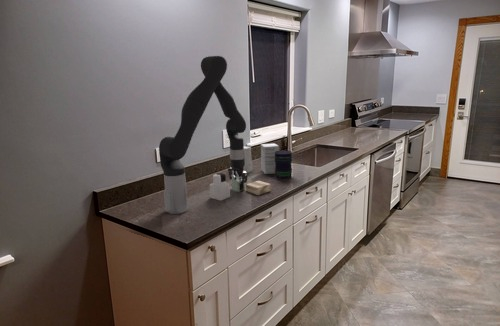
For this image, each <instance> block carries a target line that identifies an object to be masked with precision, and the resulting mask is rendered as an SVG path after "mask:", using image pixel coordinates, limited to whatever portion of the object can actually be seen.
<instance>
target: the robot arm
mask: <svg viewBox="0 0 500 326" xmlns="http://www.w3.org/2000/svg"><path fill="white" fill-rule="evenodd" d="M200 70H201V72H202V74H203V76H204V78H203V80H202V81H201V82H200V83H199V84H198V85H197V86H196V87H195V88H193V90H192V91H191V92H190V93H189V95H188V96H187V98H186V100H185V102H184V104H183V106H182V108H181V115H180V116H181V119H180V120H181V121H180V126H179V128H178V129H177V132H176V134H175V135H174V136H173V137H172V136H166V137H164V138H162V139H160V142H159V146H158V152H159V154H158V155H159V159H160V160H159V161H160V168H161V169H162V172H163V181H164V190H163V191H162V192H163V202H164V211H165V212H166V213H168V214H170V215H177V214H183V213H185V212H187V211H188V210H189V209H188V206H189V205H188V193H187V181H186V169H185V166H184V165H183V163H182V162H181V161H180V160H181V159H182V158H184V156H185V155H186V153H187V151H188V148H190V143H191V141H192V139H193V137H194V136H193V135H194V133H195V131H196V129H197V127H198V125H199V123H200V120H201V119H202V117H203V115H204V113H205V111H206V109H207V107H208V104H209V103H210V101H211V98H212V97H213V94H215V97H216V98H217V101H218V103H219V105H220V107H221V110H222V113H223V115H224V116H225V117H226V118H228V119H227V121H226V123H225V130H226V134H227V137H228V139H229V166H230V168H227V171H228V172H227V173H228V176H229V180H230V181H232V180H236V179H238V180H239V183H240V190H242V191H245V190H244V183H245V184H247V182H248V175H249V173H248V172H245V171H244V169H243V167H244V166H245V157H244V146H245V145H244V144H245V143H244V138H243V137H241V136H240V135H239V134H242V133H244V132H246V128H247V123H246V120H245V118H244V117H243V115H242V113H240V111H239V110H238V106H237V105H236V102H235V99H234V98H233V96H232V93H231V92H229V90H228V89H227V87H226V86H225V85H224V84H223V82H222V79H223V77H224V76H225V74H226V72H227V70H228V63H227V60H226V58H225V57H223V56H222V55H210V56H209V55H208V56H205V57H203V59H202V60H201V62H200ZM241 180H242V181H241Z"/></svg>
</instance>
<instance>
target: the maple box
mask: <svg viewBox="0 0 500 326" xmlns="http://www.w3.org/2000/svg"><path fill="white" fill-rule="evenodd" d="M245 191H246V192H248V193H250V194H254V195H256V196H260V195H262V194H265V193H268V192H271V191H272V185H271V183H268V182H266V181H265V182H264V181H261V180H256V181H252V182H250V183H245Z"/></svg>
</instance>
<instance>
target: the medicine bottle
mask: <svg viewBox="0 0 500 326" xmlns="http://www.w3.org/2000/svg"><path fill="white" fill-rule="evenodd" d="M226 178H227V176H226V174H225V173H223V172H217V173H215V174H213V175H212V181H213V182H212V183H210V184H209V193H210V194H209V195H210V196H209V197H210V199H213V200H216V201H220V202H221V201H223V200H225V199H228V198H230V197H231V184H230V182H227V181H226V180H227V179H226Z"/></svg>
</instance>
